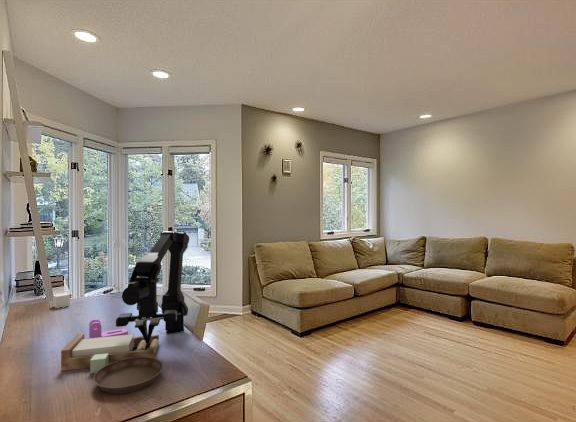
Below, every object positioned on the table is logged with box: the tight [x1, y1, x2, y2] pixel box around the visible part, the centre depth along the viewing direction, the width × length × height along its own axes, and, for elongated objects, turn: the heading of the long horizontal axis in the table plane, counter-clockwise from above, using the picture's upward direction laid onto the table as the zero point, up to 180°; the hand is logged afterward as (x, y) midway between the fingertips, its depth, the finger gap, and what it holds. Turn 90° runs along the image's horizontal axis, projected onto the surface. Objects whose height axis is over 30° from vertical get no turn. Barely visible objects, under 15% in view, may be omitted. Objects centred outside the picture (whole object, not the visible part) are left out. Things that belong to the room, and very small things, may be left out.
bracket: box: [88, 318, 129, 339], centre depth 128 cm, size 13×6×7 cm, turn 123°
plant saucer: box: [92, 357, 164, 395], centre depth 94 cm, size 18×18×3 cm
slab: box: [72, 333, 135, 358], centre depth 110 cm, size 16×10×2 cm, turn 107°
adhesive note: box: [52, 292, 71, 309], centre depth 171 cm, size 6×6×6 cm
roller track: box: [60, 333, 160, 371], centre depth 111 cm, size 26×14×6 cm, turn 105°
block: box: [89, 353, 109, 374], centre depth 101 cm, size 4×4×4 cm
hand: (147, 343), depth 113 cm, fingers closed
